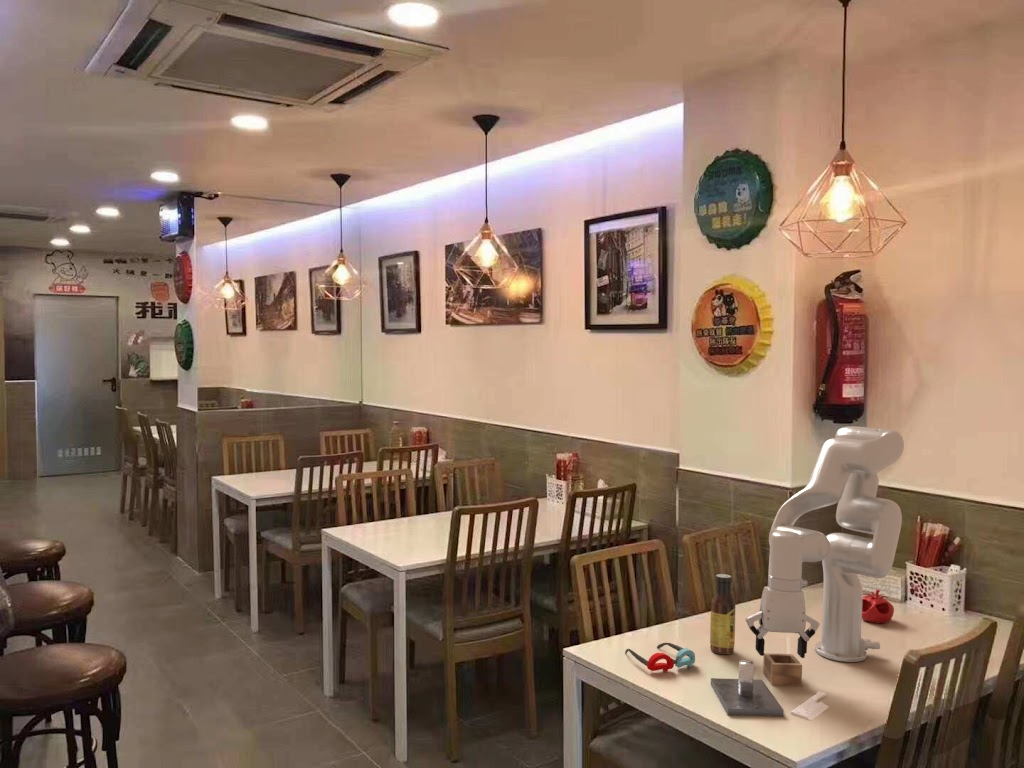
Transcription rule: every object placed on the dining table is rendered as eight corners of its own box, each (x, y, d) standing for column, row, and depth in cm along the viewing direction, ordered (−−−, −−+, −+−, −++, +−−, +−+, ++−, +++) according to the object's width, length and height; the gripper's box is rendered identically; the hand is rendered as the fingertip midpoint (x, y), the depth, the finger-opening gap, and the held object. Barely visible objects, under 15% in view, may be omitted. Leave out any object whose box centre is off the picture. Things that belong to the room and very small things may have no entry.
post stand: (761, 685, 190) (762, 650, 190) (783, 716, 174) (784, 677, 174) (710, 684, 190) (711, 648, 190) (727, 715, 174) (728, 676, 174)
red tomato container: (860, 613, 246) (861, 583, 246) (896, 619, 240) (897, 588, 240) (853, 621, 238) (854, 589, 238) (889, 628, 232) (890, 595, 232)
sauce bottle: (735, 656, 208) (737, 580, 207) (710, 654, 209) (712, 578, 209) (733, 647, 215) (735, 573, 214) (709, 645, 216) (711, 571, 215)
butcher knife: (841, 702, 183) (841, 697, 183) (812, 723, 172) (812, 718, 172) (818, 694, 186) (819, 690, 186) (789, 715, 176) (790, 710, 176)
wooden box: (791, 674, 197) (792, 654, 197) (801, 686, 190) (802, 665, 190) (763, 673, 197) (763, 653, 197) (771, 685, 190) (772, 664, 190)
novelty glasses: (652, 677, 195) (652, 657, 194) (618, 655, 208) (619, 636, 208) (698, 669, 201) (699, 649, 200) (663, 648, 214) (663, 630, 214)
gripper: (815, 581, 196) (811, 651, 197) (743, 578, 197) (740, 647, 197) (826, 590, 189) (822, 662, 189) (752, 586, 189) (748, 658, 189)
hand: (780, 654), depth 193 cm, fingers open, 9 cm apart
